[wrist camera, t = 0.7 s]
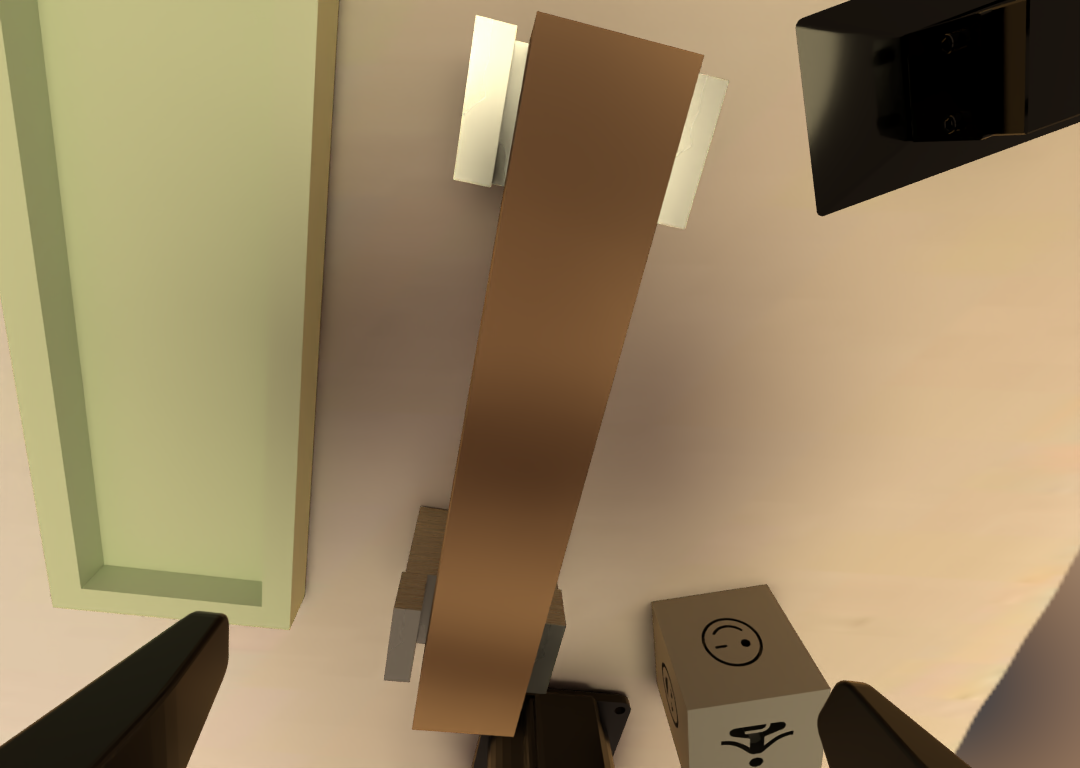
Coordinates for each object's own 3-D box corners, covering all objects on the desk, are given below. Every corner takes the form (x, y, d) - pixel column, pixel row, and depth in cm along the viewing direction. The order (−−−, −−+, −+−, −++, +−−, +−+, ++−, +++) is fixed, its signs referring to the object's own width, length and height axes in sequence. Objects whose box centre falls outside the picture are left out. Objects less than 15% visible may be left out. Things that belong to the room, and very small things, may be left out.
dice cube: (766, 583, 23) (830, 688, 19) (762, 665, 25) (819, 778, 21) (651, 600, 23) (687, 710, 19) (656, 681, 25) (690, 798, 21)
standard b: (634, 208, 17) (684, 229, 12) (466, 171, 16) (453, 179, 11) (662, 101, 16) (729, 80, 11) (483, 56, 15) (476, 14, 10)
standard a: (536, 582, 22) (545, 694, 18) (408, 568, 22) (383, 680, 17) (552, 523, 21) (566, 626, 17) (417, 506, 21) (393, 608, 16)
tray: (304, 595, 22) (289, 629, 20) (86, 573, 21) (52, 607, 19) (346, -121, 13) (325, -157, 12) (-21, -225, 12) (-98, -281, 11)
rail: (511, 652, 19) (513, 737, 16) (425, 643, 19) (412, 729, 16) (658, 77, 12) (704, 54, 10) (529, 44, 12) (537, 11, 9)
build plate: (770, 251, 18) (851, 281, 14) (728, 4, 15) (815, -51, 11) (1148, 117, 17) (1356, 106, 13) (1179, -170, 15) (1456, -301, 10)
